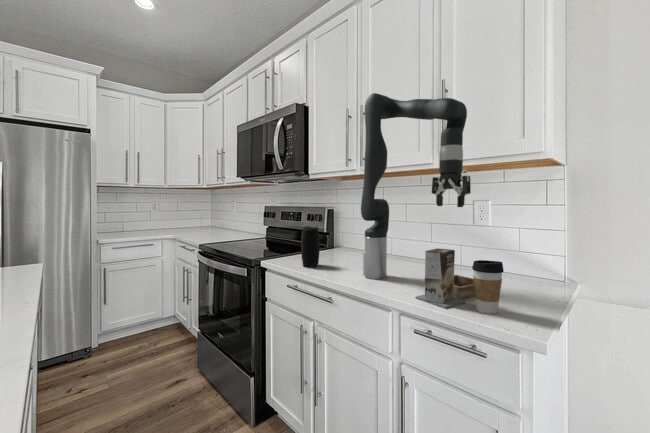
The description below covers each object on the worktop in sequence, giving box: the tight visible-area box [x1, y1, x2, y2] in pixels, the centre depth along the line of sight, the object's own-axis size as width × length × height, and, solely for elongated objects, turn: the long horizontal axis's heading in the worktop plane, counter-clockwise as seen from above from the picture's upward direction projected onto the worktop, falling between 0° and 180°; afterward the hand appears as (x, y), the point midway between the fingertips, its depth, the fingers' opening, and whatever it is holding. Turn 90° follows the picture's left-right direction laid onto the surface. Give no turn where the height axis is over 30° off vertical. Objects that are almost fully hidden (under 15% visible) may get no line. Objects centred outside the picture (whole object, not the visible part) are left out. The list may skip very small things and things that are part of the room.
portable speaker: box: [300, 225, 320, 268], centre depth 161 cm, size 9×9×20 cm
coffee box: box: [424, 248, 456, 303], centre depth 107 cm, size 9×6×16 cm
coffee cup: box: [471, 259, 505, 315], centre depth 97 cm, size 8×8×15 cm
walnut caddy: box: [454, 274, 475, 300], centre depth 117 cm, size 12×14×4 cm
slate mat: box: [415, 293, 467, 310], centre depth 107 cm, size 12×10×1 cm
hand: (449, 206), depth 113 cm, fingers open, 8 cm apart
